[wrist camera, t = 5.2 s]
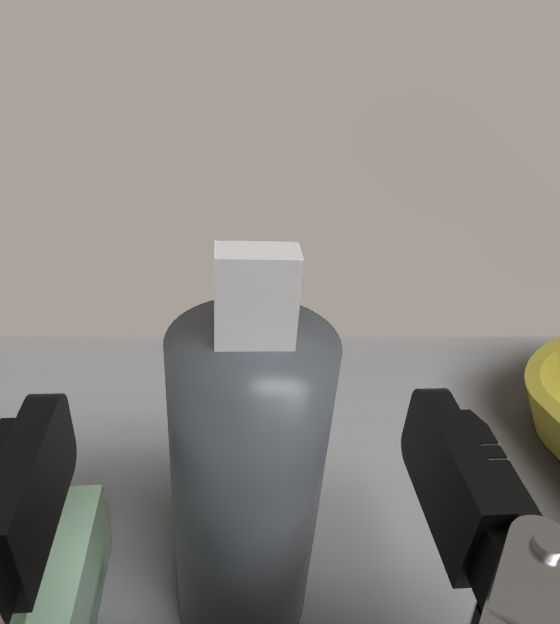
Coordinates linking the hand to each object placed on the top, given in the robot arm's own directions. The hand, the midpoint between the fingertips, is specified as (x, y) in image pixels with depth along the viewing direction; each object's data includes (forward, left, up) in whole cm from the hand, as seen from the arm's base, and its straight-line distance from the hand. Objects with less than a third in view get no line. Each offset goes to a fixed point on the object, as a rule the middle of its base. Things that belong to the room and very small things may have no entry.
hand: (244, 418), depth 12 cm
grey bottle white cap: (0, 0, -7) cm, 7 cm away
